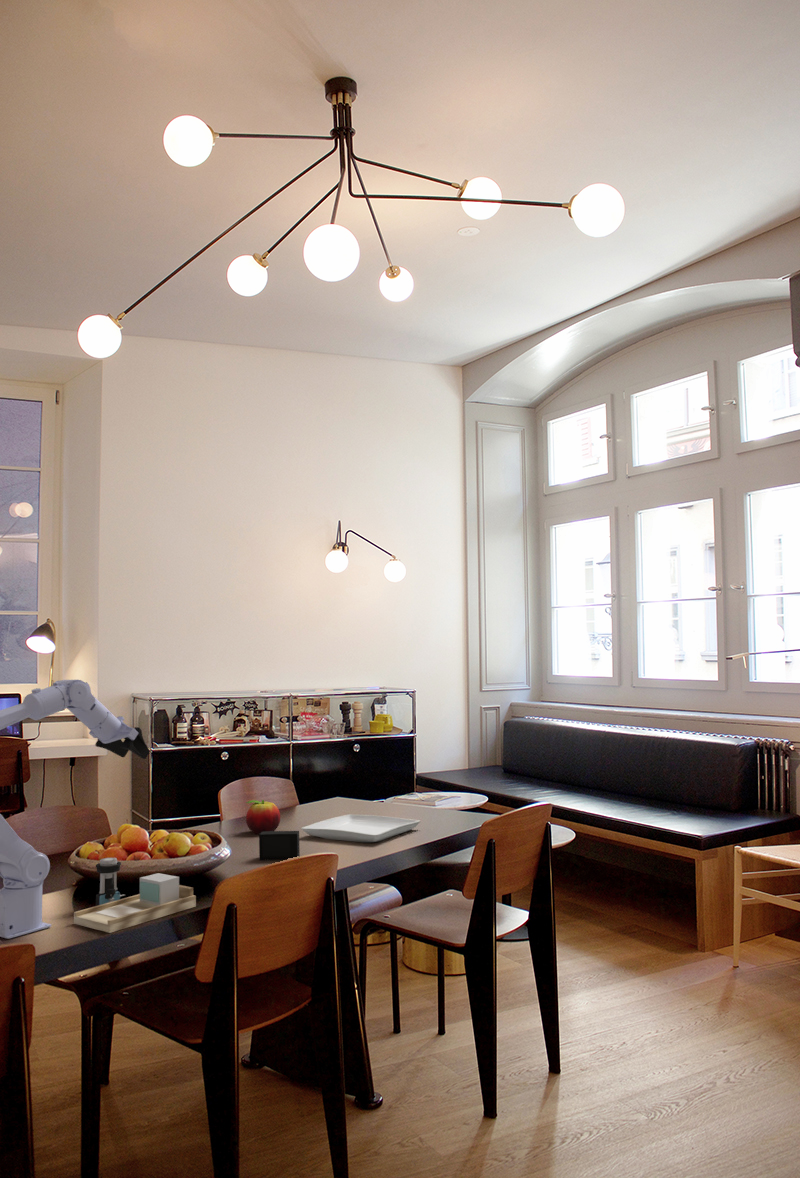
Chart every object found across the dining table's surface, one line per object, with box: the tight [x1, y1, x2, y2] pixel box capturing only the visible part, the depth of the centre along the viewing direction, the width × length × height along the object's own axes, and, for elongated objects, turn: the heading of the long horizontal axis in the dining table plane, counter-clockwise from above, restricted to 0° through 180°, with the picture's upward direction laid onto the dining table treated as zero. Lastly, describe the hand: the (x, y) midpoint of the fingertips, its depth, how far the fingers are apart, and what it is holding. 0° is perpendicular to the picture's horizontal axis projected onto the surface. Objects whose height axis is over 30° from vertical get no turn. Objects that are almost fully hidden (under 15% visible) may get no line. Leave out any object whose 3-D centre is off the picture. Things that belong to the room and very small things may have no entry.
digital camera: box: [258, 830, 301, 861], centre depth 239 cm, size 10×5×7 cm, turn 89°
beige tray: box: [73, 884, 197, 934], centre depth 187 cm, size 22×12×4 cm, turn 144°
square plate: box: [300, 813, 421, 843], centre depth 269 cm, size 27×27×4 cm
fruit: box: [245, 799, 281, 835], centre depth 276 cm, size 11×11×10 cm
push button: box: [95, 857, 125, 906], centre depth 195 cm, size 7×5×10 cm
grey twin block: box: [139, 872, 180, 905], centre depth 192 cm, size 5×7×5 cm
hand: (136, 754), depth 203 cm, fingers open, 7 cm apart
